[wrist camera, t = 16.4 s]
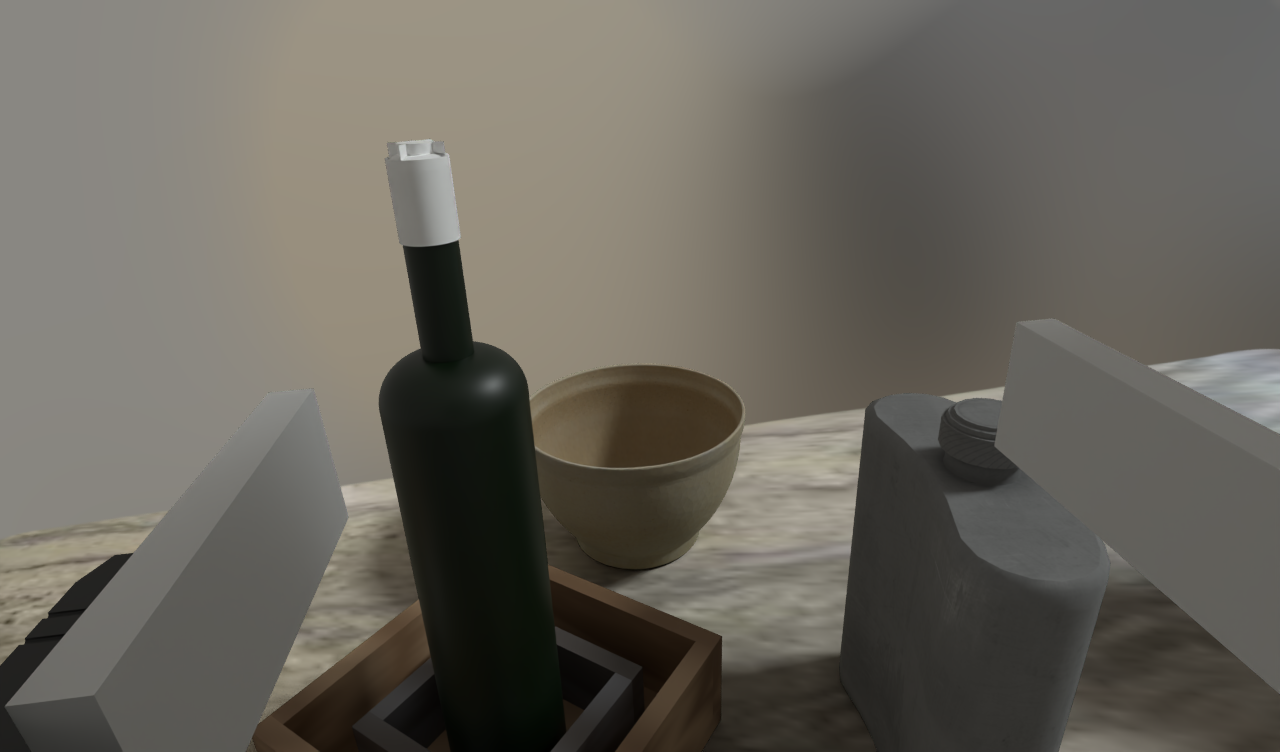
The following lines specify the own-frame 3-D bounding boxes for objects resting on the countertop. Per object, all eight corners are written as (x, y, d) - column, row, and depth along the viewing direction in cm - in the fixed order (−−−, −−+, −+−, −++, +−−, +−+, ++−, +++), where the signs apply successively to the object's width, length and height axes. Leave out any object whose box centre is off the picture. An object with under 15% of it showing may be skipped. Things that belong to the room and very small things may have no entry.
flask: (1060, 922, 29) (1196, 522, 21) (919, 926, 29) (1001, 529, 21) (925, 648, 43) (976, 342, 35) (829, 651, 43) (858, 346, 35)
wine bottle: (483, 699, 39) (385, 135, 27) (581, 715, 38) (524, 132, 26) (434, 794, 34) (286, 153, 22) (545, 817, 33) (454, 150, 21)
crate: (503, 615, 47) (492, 541, 44) (720, 719, 39) (721, 636, 36) (281, 817, 35) (249, 731, 32) (531, 1030, 27) (514, 936, 24)
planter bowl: (501, 515, 57) (485, 394, 53) (669, 459, 65) (666, 348, 60) (589, 639, 45) (577, 494, 40) (786, 552, 52) (793, 420, 47)
